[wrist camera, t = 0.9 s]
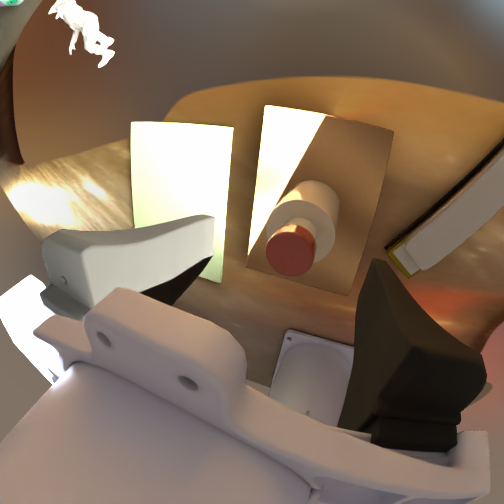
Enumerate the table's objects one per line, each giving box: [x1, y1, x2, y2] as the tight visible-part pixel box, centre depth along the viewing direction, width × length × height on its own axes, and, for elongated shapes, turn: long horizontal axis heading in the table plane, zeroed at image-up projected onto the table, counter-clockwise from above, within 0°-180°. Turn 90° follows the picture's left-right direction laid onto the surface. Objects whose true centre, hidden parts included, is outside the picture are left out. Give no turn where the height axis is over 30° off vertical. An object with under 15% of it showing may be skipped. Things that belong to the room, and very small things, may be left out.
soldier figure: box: [49, 0, 115, 68], centre depth 17 cm, size 8×5×12 cm
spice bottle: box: [265, 180, 340, 276], centre depth 15 cm, size 4×4×7 cm
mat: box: [131, 122, 233, 283], centre depth 24 cm, size 14×10×1 cm
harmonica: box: [385, 139, 504, 279], centre depth 15 cm, size 15×3×2 cm, turn 141°
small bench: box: [247, 105, 394, 296], centre depth 19 cm, size 12×8×2 cm, turn 174°
